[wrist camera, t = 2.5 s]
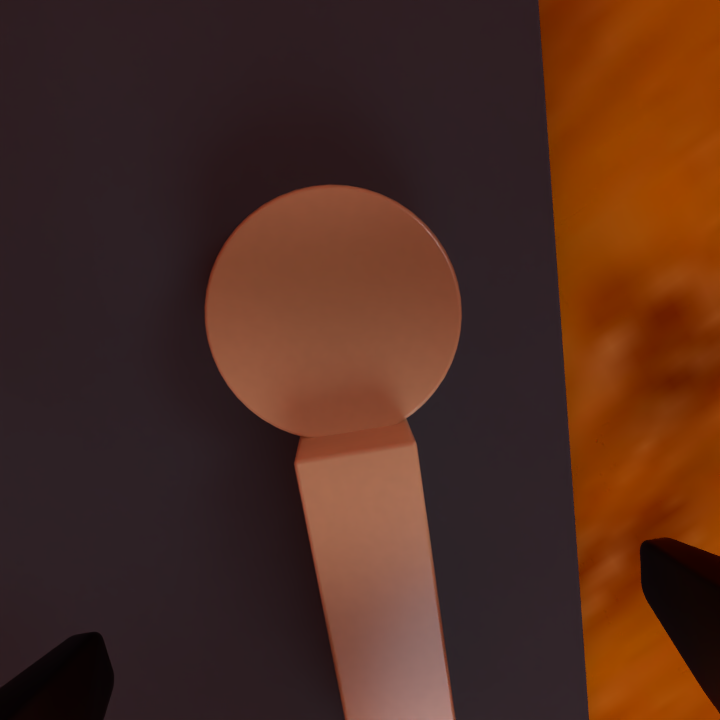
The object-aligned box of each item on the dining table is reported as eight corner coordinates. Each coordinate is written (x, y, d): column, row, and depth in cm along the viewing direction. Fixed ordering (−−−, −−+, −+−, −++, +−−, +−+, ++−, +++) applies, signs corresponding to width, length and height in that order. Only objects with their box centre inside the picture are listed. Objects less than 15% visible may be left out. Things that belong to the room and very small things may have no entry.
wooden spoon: (494, 721, 13) (534, 841, 11) (319, 750, 13) (313, 878, 11) (428, 179, 10) (461, 151, 8) (203, 215, 10) (154, 200, 8)
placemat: (584, 730, 14) (591, 743, 14) (28, 823, 14) (19, 839, 14) (515, -201, 9) (523, -221, 9) (-319, -70, 9) (-348, -84, 9)
